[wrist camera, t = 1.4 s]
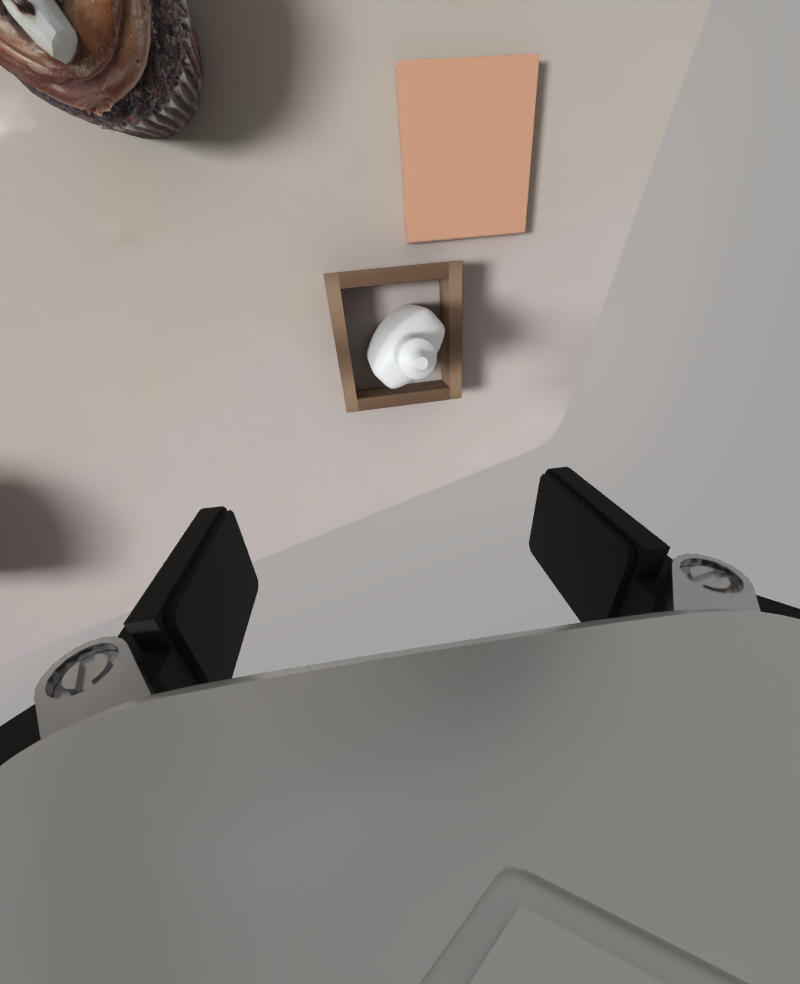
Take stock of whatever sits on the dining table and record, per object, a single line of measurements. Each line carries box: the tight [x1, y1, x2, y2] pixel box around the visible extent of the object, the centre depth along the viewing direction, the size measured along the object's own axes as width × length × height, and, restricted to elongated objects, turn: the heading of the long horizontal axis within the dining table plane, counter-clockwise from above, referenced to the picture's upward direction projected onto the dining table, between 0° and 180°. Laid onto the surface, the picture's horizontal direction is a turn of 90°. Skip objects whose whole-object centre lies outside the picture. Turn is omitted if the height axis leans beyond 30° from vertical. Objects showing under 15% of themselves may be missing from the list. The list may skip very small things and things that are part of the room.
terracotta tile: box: [396, 54, 539, 244], centre depth 24 cm, size 9×9×1 cm
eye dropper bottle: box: [367, 304, 445, 389], centre depth 25 cm, size 4×6×12 cm
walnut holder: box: [324, 260, 462, 412], centre depth 28 cm, size 10×10×3 cm
